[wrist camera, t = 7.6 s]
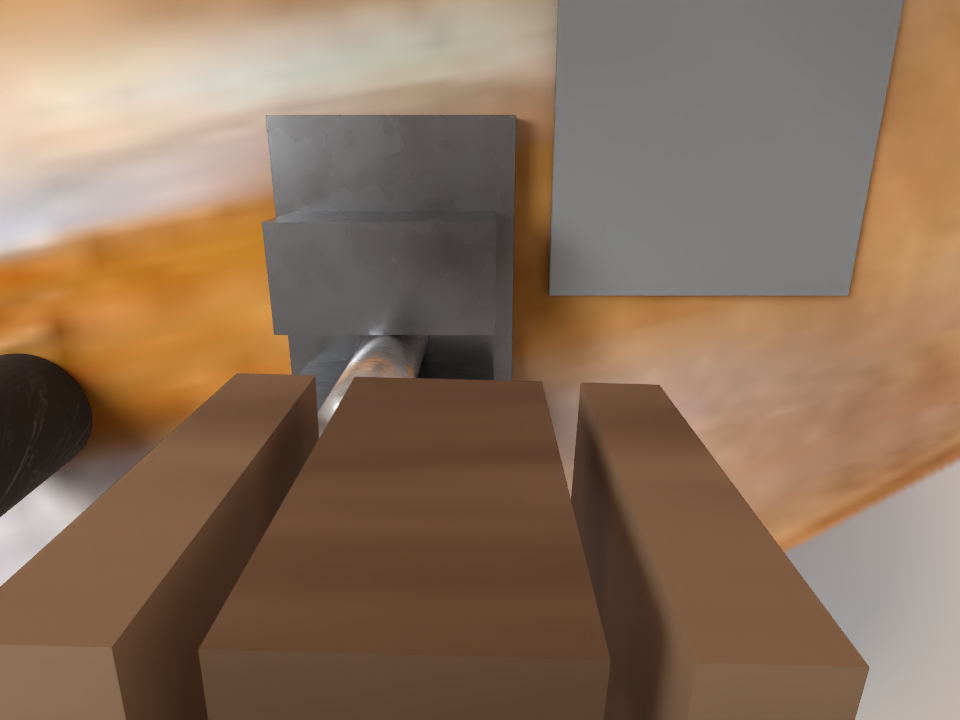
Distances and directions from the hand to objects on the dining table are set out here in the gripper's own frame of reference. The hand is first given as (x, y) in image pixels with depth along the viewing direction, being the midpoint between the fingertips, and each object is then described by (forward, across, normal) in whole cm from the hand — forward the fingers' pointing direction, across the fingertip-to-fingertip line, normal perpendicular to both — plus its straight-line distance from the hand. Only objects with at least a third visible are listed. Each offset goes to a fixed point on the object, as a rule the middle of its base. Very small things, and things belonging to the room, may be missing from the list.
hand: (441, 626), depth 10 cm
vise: (+26, +4, +2) cm, 26 cm away
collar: (+2, 0, 0) cm, 2 cm away
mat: (+26, -12, -8) cm, 29 cm away
